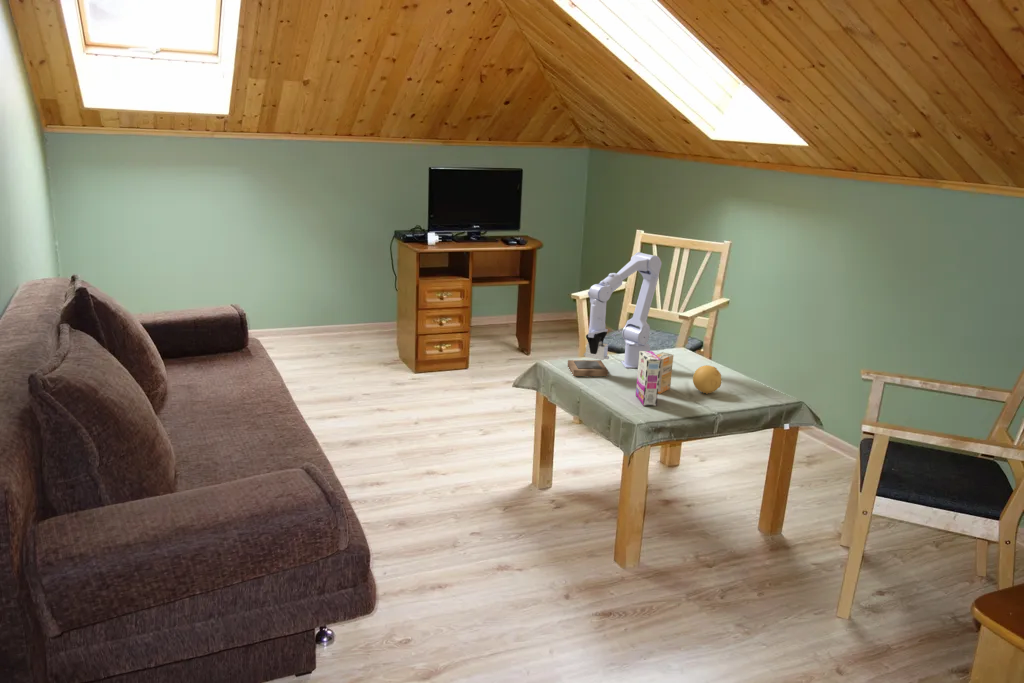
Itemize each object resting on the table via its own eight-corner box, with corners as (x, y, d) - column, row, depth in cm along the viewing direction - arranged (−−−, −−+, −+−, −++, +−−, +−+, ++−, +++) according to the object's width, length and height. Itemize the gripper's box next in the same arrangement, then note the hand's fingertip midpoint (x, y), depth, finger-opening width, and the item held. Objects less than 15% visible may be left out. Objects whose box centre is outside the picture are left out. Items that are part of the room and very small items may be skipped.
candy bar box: (657, 406, 268) (661, 359, 263) (643, 406, 267) (646, 359, 263) (649, 395, 278) (652, 350, 274) (635, 395, 278) (638, 350, 273)
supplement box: (660, 394, 280) (663, 359, 276) (648, 391, 282) (651, 356, 279) (671, 389, 286) (674, 354, 282) (658, 386, 289) (661, 351, 285)
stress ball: (690, 396, 282) (707, 385, 274) (684, 371, 286) (701, 359, 278) (712, 398, 286) (730, 387, 278) (706, 373, 290) (724, 361, 282)
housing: (586, 353, 303) (587, 337, 301) (610, 357, 299) (611, 341, 298) (582, 356, 299) (583, 340, 297) (606, 360, 295) (607, 344, 293)
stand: (600, 366, 310) (600, 359, 309) (607, 376, 297) (608, 369, 297) (567, 366, 308) (567, 359, 308) (573, 376, 296) (573, 369, 295)
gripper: (602, 322, 287) (599, 358, 291) (613, 314, 300) (611, 348, 303) (583, 319, 290) (581, 355, 293) (596, 311, 303) (593, 346, 306)
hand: (595, 351), depth 299 cm, fingers closed on housing, 5 cm apart
